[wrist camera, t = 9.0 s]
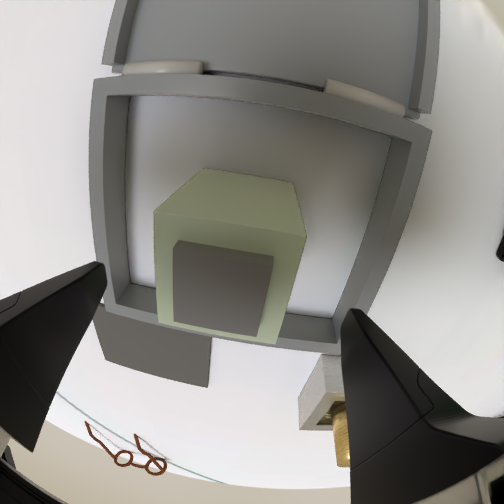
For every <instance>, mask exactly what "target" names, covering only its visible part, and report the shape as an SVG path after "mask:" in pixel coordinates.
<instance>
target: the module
mask: <svg viewBox="0 0 504 504" xmlns="http://www.w3.org/2000/svg"><path fill="white" fill-rule="evenodd" d="M306 238H307V235H306V231H305V227H304V223H303V219H302V215H301V211H300V207H299V204H298V200H297V196H296V192H295V189H294V185H293V183H291V182H286V181H281V180H275V179H270V178H264V177H258V176H252V175H246V174H240V173H233V172H226V171H219V170H212V169H204V168H203V169H202V170H201V171H200V172H198V173H197V174H196V175H195V176H194V177H192V178H191V179H190V180H189V181H188V182H186V183H185V184H184V185H183V186H182V187H181V188H179V189H178V190H177V191H176V192H175V193H174V194H172V195H171V196H170V197H169V198H168V199H167V200H166V201H165V202H163V203H162V204H161V205H160V206H159V207H158V208H157V209H156V210H155V211H154V263H155V284H156V300H157V313H158V323H162V324H166V325H171V326H175V327H179V328H184V329H189V330H193V331H198V332H203V333H208V334H214V335H219V336H225V337H230V338H236V339H242V340H248V341H255V342H261V343H268V344H276V341H277V338H278V335H279V331H280V328H281V325H282V322H283V318H284V315H285V312H286V309H287V305H288V302H289V299H290V295H291V292H292V288H293V285H294V281H295V278H296V274H297V271H298V267H299V264H300V260H301V256H302V253H303V249H304V245H305V242H306Z"/></svg>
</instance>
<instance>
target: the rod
mask: <svg viewBox="0 0 504 504" xmlns="http://www.w3.org/2000/svg"><path fill="white" fill-rule="evenodd" d="M330 412H331V419H332V426H333V434H334V442H335V450H336V459H337V466H339V467H350V456H349V440H348V427H347V415H346V405H345V401H334V403H333V404H332V405H331V407H330Z"/></svg>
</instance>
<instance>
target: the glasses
mask: <svg viewBox="0 0 504 504" xmlns="http://www.w3.org/2000/svg"><path fill="white" fill-rule="evenodd" d="M85 424H86V427H87V430H88V432H89V435H90V436H91V437H92V438H93V439H94V440H95V441H97V442H98V443H99V444H100V445H101V446H102V447H103V448H104V449H105V450H106V451H107V452H108V453H109V454H110V455H111V457H112V458H113V459H114V462H115V463H116V464H117V465H118V466H121V467H126V466H129V465H130V464H131V465H132V466H135V467H138V468H145V470H146V471H147V472H148V473H149V474H151V475H155V476H157V475H161V474H163V473H164V472H165V471H166V469H167V463H166V461H165V460H164V459H162V458H156V457H155V458H153V457H152V455H151V454H149V453H147V452H145V451H144V450H143V449H141V446H140V443H139V440H138V436H137V435H136V434H134V438H135V441H136V444H137V448H138V450H139V451H140V452H141V453H142V454H144V455H146V456H148V457H149V458H150V460H149V461H148V462H147V463H146V465H144V466H142V465H138V464H134V463H132V461H133V454H132V453H131V452H129V451H126V450H122V451H119V452H118V453H117V454H116V455H115V456H114V455H113V454H112V453H111V452H110V451H109V449H108V448H107V447H106V446H105V445H104V444H103V443H102V442H101V441H100V440H98V439H97V438H96V437H94V436H93V434H92V432H91V429H90V427H89V424H88V423H87V422H86V421H85ZM121 453H128V454H130V460H129V462H128V463H126V464H119V463H118V462H117V457H118V456H119V455H120V454H121ZM156 460H160V461H162V462H163V463H164V467H163V468H162V467H161V466H160V465H159V463H158V462H157V461H156ZM151 462H153V463H154V464H155V465H156V466H157V467H158V468H159V469H160V470H161V471H160V472H158V473H153V472H150V471H149V469H148V466H149V464H150V463H151Z"/></svg>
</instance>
